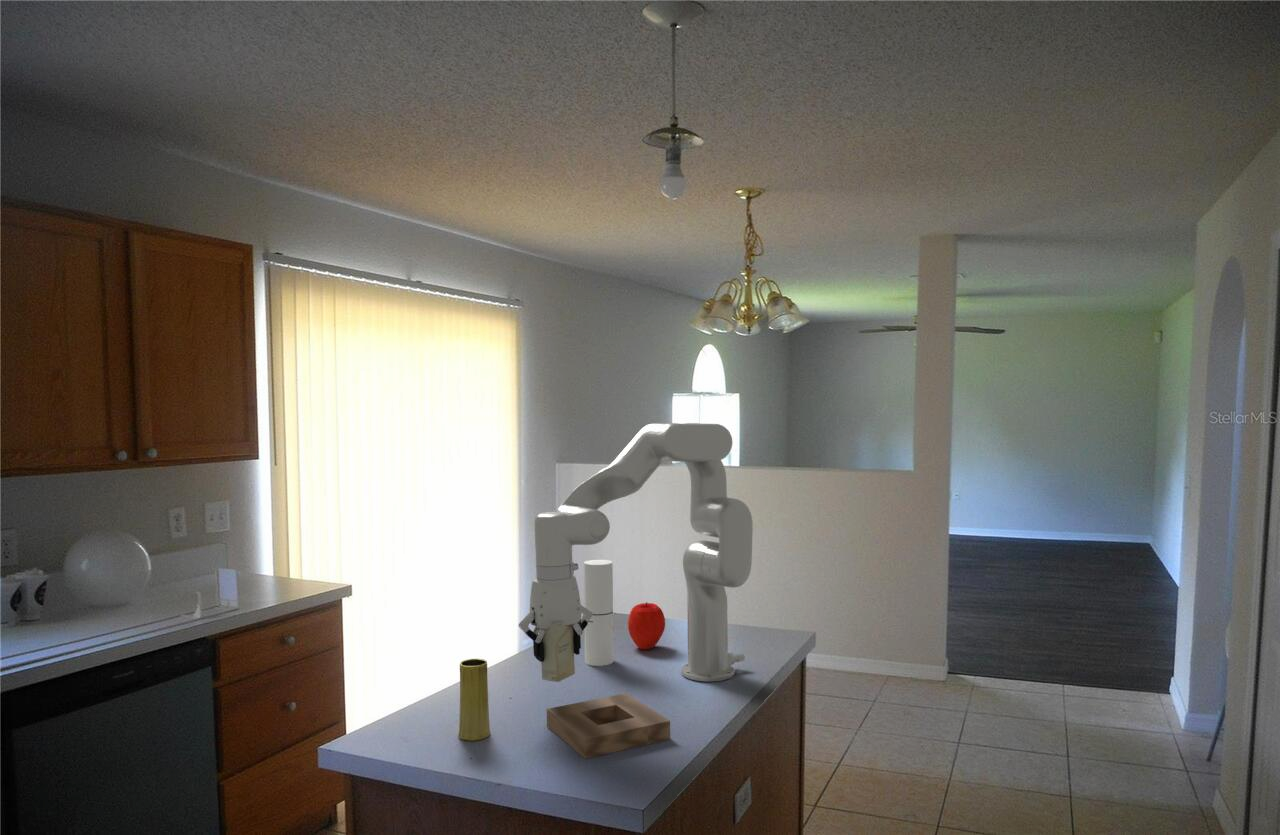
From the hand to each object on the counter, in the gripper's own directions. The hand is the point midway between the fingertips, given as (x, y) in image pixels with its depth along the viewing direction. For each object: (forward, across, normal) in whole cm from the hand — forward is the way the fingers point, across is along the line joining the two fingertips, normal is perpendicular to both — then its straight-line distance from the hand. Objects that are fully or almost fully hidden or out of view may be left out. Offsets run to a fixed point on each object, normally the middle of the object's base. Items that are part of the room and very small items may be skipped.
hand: (557, 655), depth 175 cm
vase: (+12, +19, +2) cm, 23 cm away
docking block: (+12, -4, +14) cm, 19 cm away
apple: (+14, -39, -32) cm, 52 cm away
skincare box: (+5, 0, 0) cm, 5 cm away
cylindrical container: (+13, -23, -28) cm, 38 cm away
